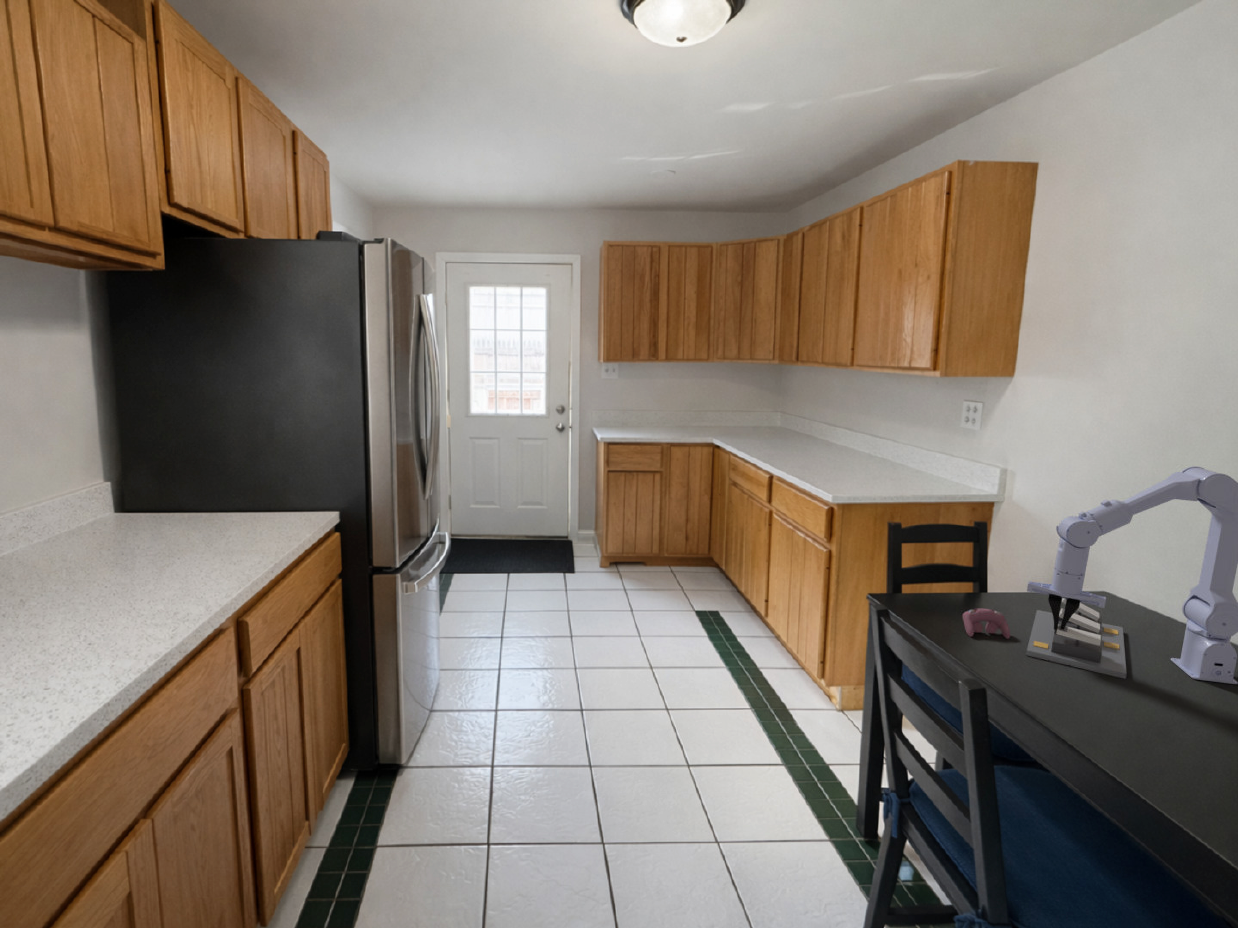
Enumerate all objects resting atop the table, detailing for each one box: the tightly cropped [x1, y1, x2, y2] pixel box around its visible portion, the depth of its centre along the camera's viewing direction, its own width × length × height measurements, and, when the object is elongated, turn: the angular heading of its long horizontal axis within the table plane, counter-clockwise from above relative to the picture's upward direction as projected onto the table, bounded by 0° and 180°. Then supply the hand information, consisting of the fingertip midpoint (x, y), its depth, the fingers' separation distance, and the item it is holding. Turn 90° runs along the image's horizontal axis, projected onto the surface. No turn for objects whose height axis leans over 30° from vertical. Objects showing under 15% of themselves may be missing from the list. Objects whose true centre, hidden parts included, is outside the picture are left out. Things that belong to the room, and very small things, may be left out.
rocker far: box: [1061, 598, 1100, 621], centre depth 167 cm, size 8×4×1 cm, turn 56°
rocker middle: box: [1059, 608, 1100, 633], centre depth 159 cm, size 8×4×1 cm, turn 56°
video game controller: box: [962, 608, 1011, 640], centre depth 164 cm, size 10×5×7 cm, turn 85°
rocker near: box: [1056, 624, 1101, 646], centre depth 151 cm, size 8×4×1 cm, turn 55°
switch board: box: [1025, 607, 1127, 680], centre depth 159 cm, size 18×30×5 cm, turn 145°
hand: (1058, 629), depth 153 cm, fingers closed
